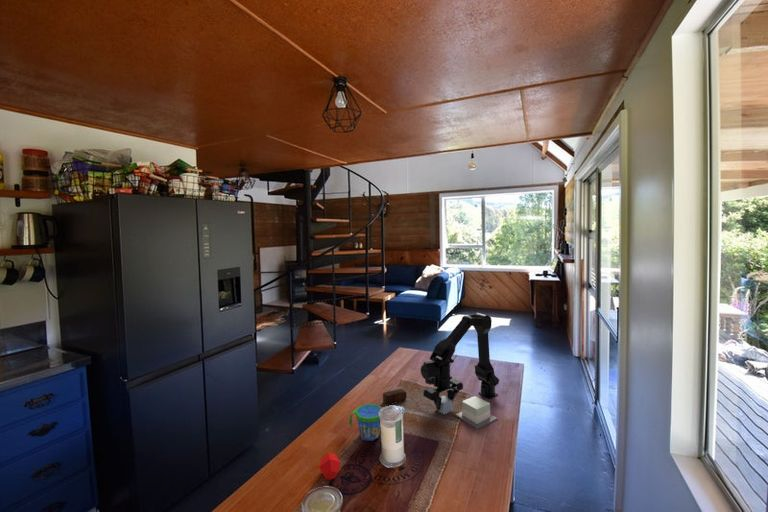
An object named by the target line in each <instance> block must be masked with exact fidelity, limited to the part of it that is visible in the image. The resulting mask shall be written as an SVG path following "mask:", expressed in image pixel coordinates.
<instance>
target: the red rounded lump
mask: <svg viewBox="0 0 768 512" xmlns="http://www.w3.org/2000/svg"><path fill="white" fill-rule="evenodd" d="M340 465H341V460H340V459H339V458H338V456H337V455H336V454H335V453H331V452H329V451H327V453H326V454H324V455H323V456H322V457H321V460H320V463H319V466H318V467H319V469H320V471H321V473H322V474H323V476H324V478H325V480H326V481H329V480H330V481H331V480H334V479H336V477H337V476H338V474H339V471H340V470H339V469H340V467H341V466H340Z"/></svg>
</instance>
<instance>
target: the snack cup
mask: <svg viewBox="0 0 768 512" xmlns="http://www.w3.org/2000/svg"><path fill="white" fill-rule="evenodd" d="M381 408H382V407H381V406H380V405H378V404H374V403H366V404H362V405H360V406H358V407H357V408H356V409H354V410H353V411H351V414H350V416H349V426H350V427H352V426H353V425H354V424H353V423H354V422H353V418H352V417H353V415H355V417H356V420H357V426H358V427H357V428H358V433H359V437H360V438H361V439H362V440H363V441H367V442H369V441H372V442H373V441H374V440H376V439H378V438H379V437H380V434H381V433H380V432H381V427H380V419H379V414H378V412H379V410H380V409H381ZM374 442H375V441H374Z"/></svg>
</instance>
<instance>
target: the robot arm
mask: <svg viewBox="0 0 768 512" xmlns="http://www.w3.org/2000/svg"><path fill="white" fill-rule="evenodd" d="M472 326H473V328H474V329H475V332H476V333H477V334H476V335H477V337H476V338H477V351H478V352H477V353H478V362H477V364H476V365H474V374H475V376H476V377H477V380H478V381H481V383H480V391H478V394H479V395H481V396H483V397H484V398H487V399H489V400H490V399H493V398H495V397H497V396H498V393H497V392H496V387H497V386H498V385H499V383H500V379H499V378H498V377H497V376H496V375H495V370H494V367H493V365H492V362H491V361H490V360H491V359H490V358H491V357H490V356H491V355H490V346H489V345H490V344H489V343H490V342H489V341H490V340H489V332H490V330H491V329H492V317H491V316H490V315H488V314H484V313H480V312H476V313H475V314H468V315H464V316H462V317H461V319H460V321H459V322H458V324H457V325H456V326H455V327H454V328H453V330H452V331H451V332H450V334H449V335H448V336H447V337H446V338H445V339H442V340H440V341H439V342H438V343H437V344H436V345H435V346H434V348H433V349H434V350H433V351H432V353H431V355H430V356H429V361H424V362H423V365H421V367H420V374H421V376H422V378H423V379H424V381H425V383H426V385H429V386H431V385H433V387H434V388H432V387H427V388H426V389H424V390H423V392H422V394H423V397H425V398H427V399H429V400H430V401H433V404H434V406H435V410H436V409H437V410H438V411H439V410H440V405H441V400H442V398H441V397H442V396H440V394H442V393H444V392H446V393H447V396H446V397H447V398H449V399H451V400H452V403H453V402H454V400H455V398H456V396H457V395H458V393H459V392H460V391H461V390H463V389H464V384H463V382H461V381H460V380H458V379H456V378H453V376H452V375H451V364H452V363H455V360H454V359H452V357H453V355H454V353H455V352H456V346H457V345H458V343H459V342H460V341H461V340H462V338H464V336H465V335H466V333H468V331H469V330H470V329H471V327H472ZM435 388H436V389H435ZM437 410H436V411H437ZM438 411H437V412H438Z"/></svg>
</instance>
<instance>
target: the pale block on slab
mask: <svg viewBox="0 0 768 512" xmlns="http://www.w3.org/2000/svg"><path fill="white" fill-rule="evenodd" d="M461 403H462V404H461V410H462V411H460V412H458V413H456V414H455V415H456V416H455V415H454V416H455V417H457V418H458V417H459V419H460V420H462V421H463V422H465V423H466V424H468V425H470V426H471V427H473V428H474V429H476V430H480V429H481V428H483V427H486V426H487V425H489V424H491V423H493V422H495V421H498V418H497V417H496V416H495V415H493V414H491V403H490V402H488V401H486V400H484V399H482V398H480V397H479V396H476V395H474V396H471V397H469V398H467V399H464V400H462V401H461Z"/></svg>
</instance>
